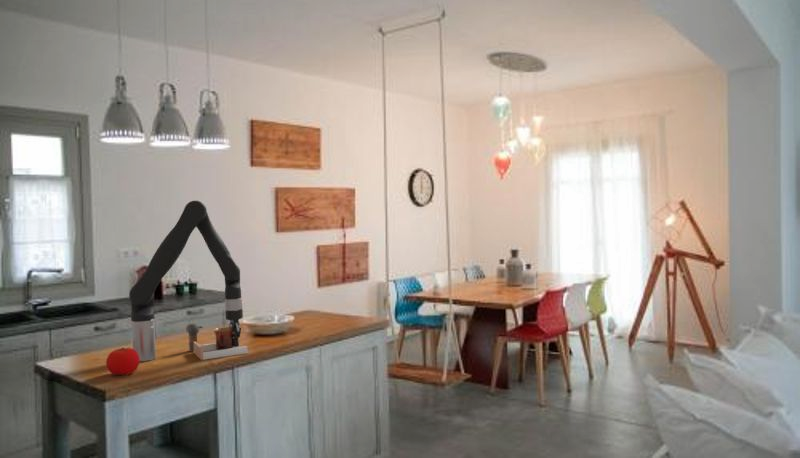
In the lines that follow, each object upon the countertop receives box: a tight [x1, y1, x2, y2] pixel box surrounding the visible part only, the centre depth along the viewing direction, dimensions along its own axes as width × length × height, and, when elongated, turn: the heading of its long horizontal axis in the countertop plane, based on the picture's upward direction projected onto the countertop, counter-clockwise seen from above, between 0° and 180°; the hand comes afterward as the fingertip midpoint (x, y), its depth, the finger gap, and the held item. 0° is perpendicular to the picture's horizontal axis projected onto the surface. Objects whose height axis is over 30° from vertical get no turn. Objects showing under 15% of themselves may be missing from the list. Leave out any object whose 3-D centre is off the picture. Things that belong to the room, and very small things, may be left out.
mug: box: [213, 326, 233, 351], centre depth 265 cm, size 12×9×10 cm
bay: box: [193, 339, 249, 361], centre depth 265 cm, size 20×16×5 cm
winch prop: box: [185, 322, 203, 353], centre depth 271 cm, size 7×4×12 cm, turn 120°
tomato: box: [105, 347, 141, 376], centre depth 234 cm, size 11×12×10 cm
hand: (235, 346), depth 269 cm, fingers closed
